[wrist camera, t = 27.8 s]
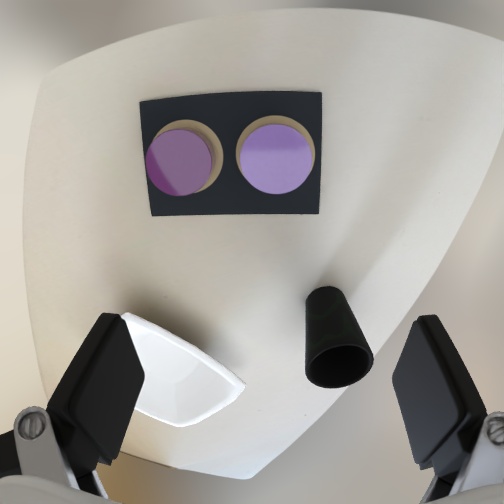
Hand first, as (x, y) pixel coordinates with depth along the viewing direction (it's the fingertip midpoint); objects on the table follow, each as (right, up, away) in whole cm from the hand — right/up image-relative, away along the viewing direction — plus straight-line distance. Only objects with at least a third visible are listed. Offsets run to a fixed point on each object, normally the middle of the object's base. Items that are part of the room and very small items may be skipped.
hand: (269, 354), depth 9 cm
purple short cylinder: (-8, +14, +24) cm, 28 cm away
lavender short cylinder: (+2, +14, +23) cm, 27 cm away
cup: (+10, -4, +32) cm, 34 cm away
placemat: (-3, +14, +24) cm, 28 cm away
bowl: (-15, -14, +39) cm, 44 cm away
